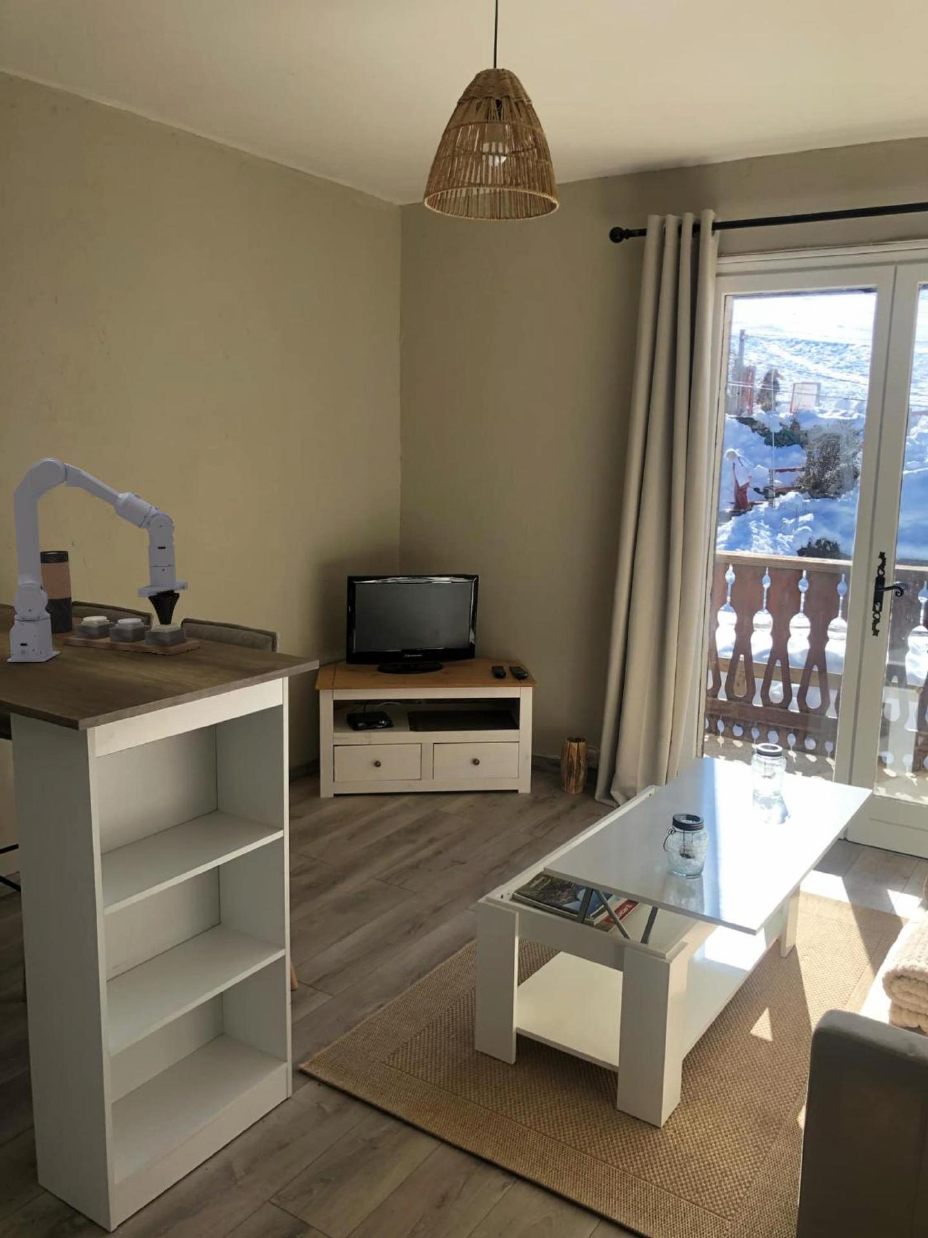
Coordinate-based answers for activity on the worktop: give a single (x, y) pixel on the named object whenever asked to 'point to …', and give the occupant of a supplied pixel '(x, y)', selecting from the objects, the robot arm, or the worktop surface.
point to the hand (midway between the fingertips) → (165, 624)
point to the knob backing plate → (131, 639)
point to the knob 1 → (95, 621)
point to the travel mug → (57, 589)
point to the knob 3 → (165, 627)
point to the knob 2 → (129, 623)
